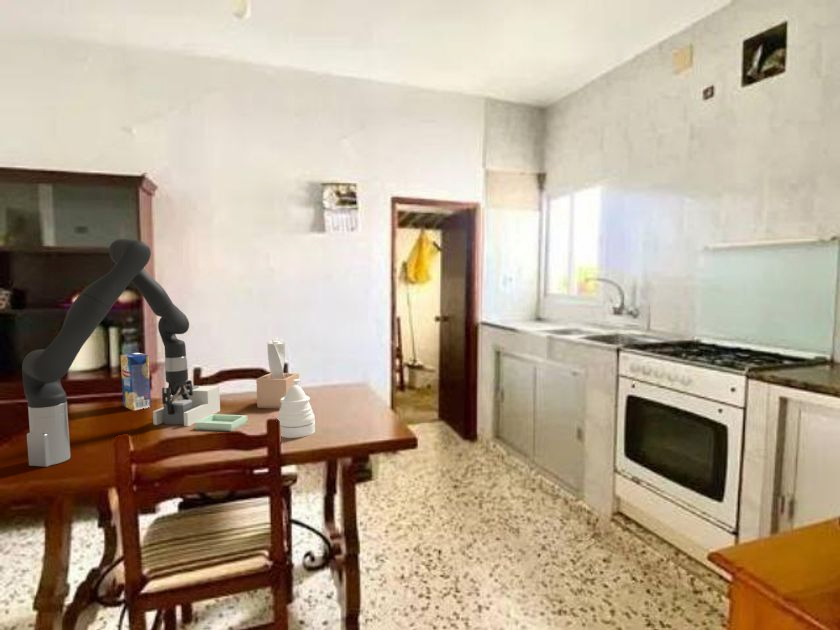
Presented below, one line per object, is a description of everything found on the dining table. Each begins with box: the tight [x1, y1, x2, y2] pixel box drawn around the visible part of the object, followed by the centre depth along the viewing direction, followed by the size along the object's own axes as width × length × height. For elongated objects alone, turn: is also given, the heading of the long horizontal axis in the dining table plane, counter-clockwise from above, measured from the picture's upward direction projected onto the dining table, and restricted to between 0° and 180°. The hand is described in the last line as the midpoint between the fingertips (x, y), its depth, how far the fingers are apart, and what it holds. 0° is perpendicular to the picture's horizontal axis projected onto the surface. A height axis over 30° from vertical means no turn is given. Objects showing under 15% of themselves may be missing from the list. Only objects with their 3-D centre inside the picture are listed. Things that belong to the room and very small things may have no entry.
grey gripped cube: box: [162, 399, 192, 425], centre depth 190 cm, size 5×8×8 cm, turn 80°
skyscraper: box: [267, 337, 289, 379], centre depth 214 cm, size 8×8×28 cm
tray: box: [194, 413, 248, 432], centre depth 184 cm, size 11×14×2 cm
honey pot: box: [276, 378, 316, 439], centre depth 176 cm, size 13×13×18 cm
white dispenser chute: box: [152, 385, 221, 427], centre depth 195 cm, size 21×14×11 cm, turn 170°
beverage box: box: [120, 352, 152, 411], centre depth 212 cm, size 7×11×22 cm, turn 49°
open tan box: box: [255, 372, 300, 409], centre depth 214 cm, size 13×13×12 cm
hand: (178, 411), depth 190 cm, fingers open, 8 cm apart
